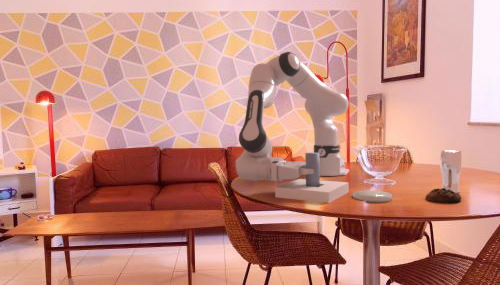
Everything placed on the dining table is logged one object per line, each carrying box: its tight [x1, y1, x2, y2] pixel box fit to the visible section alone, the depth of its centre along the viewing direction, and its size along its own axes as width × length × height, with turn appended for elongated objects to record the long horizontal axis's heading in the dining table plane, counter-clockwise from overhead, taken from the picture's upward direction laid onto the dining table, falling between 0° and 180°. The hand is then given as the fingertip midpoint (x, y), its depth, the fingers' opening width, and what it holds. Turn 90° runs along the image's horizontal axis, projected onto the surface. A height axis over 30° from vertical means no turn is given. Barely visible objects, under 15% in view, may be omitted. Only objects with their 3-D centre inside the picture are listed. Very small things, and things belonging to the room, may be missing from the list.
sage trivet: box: [352, 190, 393, 204], centre depth 140 cm, size 13×13×2 cm
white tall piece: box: [439, 149, 463, 194], centre depth 148 cm, size 7×7×15 cm
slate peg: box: [305, 152, 321, 187], centre depth 146 cm, size 5×5×15 cm
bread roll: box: [425, 187, 462, 204], centre depth 136 cm, size 11×11×5 cm
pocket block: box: [274, 178, 350, 204], centre depth 147 cm, size 20×20×4 cm
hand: (315, 169), depth 146 cm, fingers closed on slate peg, 5 cm apart
